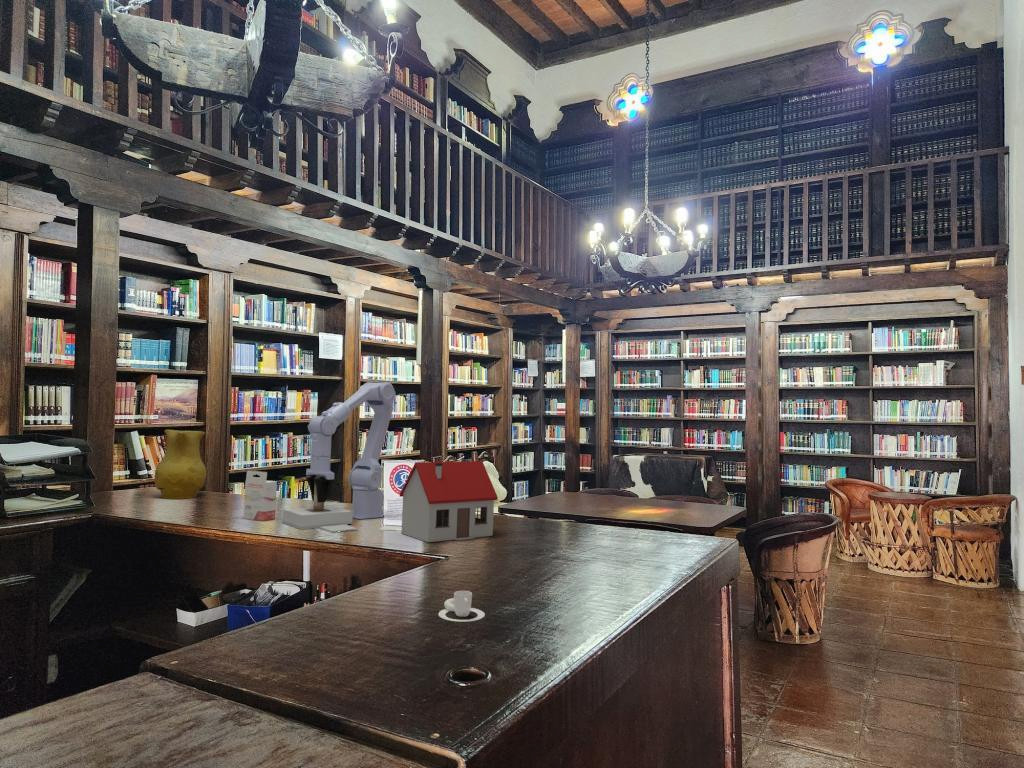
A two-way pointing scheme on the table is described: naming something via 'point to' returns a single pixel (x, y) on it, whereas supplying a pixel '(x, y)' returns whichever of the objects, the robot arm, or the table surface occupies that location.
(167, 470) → the pitcher
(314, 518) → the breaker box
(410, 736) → the table surface
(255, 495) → the ink cartridge box
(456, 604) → the teacup and saucer
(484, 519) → the house model
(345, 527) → the rest pad
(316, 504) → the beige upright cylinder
